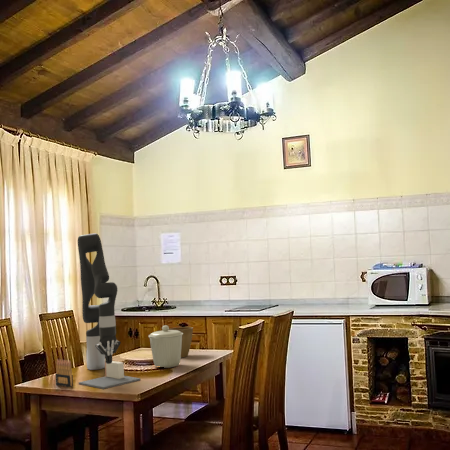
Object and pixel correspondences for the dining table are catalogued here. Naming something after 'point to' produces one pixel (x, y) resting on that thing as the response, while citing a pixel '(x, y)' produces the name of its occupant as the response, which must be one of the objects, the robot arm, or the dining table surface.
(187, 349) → the plant pot
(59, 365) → the ammunition clip
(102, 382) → the rubber mat
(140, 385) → the dining table surface
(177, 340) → the canister
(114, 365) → the cream block
